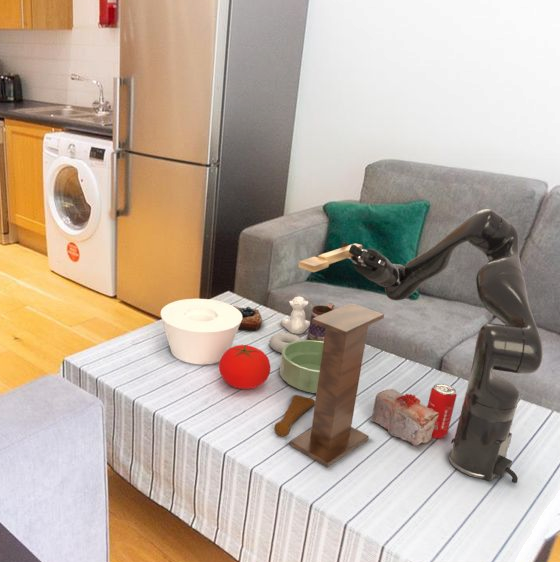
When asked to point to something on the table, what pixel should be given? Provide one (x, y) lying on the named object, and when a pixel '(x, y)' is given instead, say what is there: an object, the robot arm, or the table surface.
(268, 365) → the tomato
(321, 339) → the mug
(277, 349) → the donut
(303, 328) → the white creature statuette
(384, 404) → the food item
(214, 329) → the white tapered cylinder
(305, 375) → the mixing bowl
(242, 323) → the pastry
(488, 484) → the table surface
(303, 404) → the primitive tool
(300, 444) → the stand
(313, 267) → the wooden paddle
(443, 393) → the beverage can
